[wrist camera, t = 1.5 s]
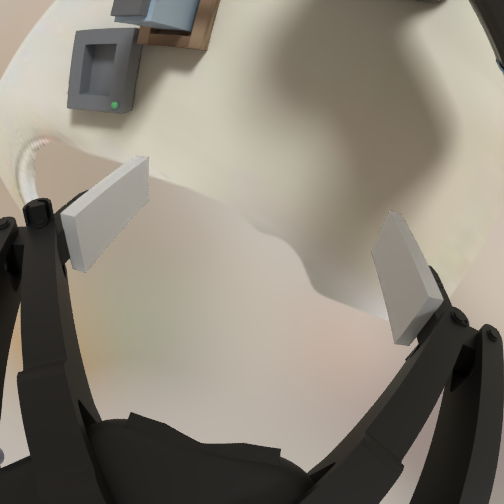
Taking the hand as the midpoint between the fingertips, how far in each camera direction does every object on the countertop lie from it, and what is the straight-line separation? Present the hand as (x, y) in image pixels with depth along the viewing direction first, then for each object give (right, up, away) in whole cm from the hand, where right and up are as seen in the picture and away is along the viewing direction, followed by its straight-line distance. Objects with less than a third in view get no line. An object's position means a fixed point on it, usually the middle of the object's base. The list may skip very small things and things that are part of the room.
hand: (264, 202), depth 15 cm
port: (-21, +23, +17) cm, 36 cm away
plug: (-9, +27, +12) cm, 31 cm away
